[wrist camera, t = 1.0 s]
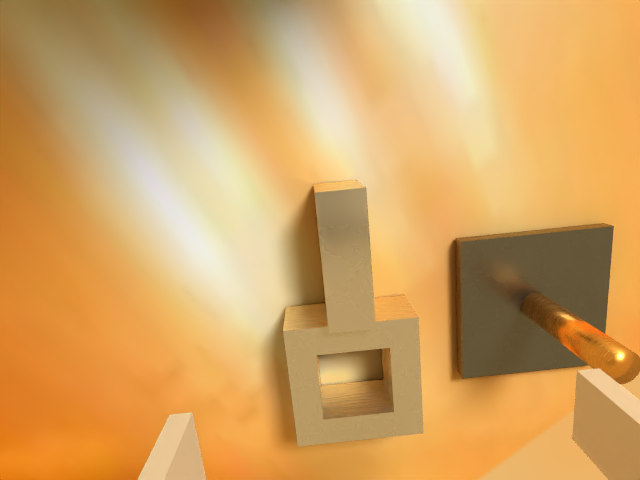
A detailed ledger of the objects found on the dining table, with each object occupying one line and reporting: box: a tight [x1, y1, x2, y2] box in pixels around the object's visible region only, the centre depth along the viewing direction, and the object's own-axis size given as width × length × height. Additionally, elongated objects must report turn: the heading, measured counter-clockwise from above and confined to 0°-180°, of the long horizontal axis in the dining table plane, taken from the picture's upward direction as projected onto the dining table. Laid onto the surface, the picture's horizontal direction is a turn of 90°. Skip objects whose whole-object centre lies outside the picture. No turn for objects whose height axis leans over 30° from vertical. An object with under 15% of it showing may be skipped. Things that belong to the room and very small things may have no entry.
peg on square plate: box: [456, 223, 640, 384], centre depth 26 cm, size 11×11×10 cm
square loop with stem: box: [283, 180, 423, 447], centre depth 28 cm, size 18×9×5 cm, turn 6°
